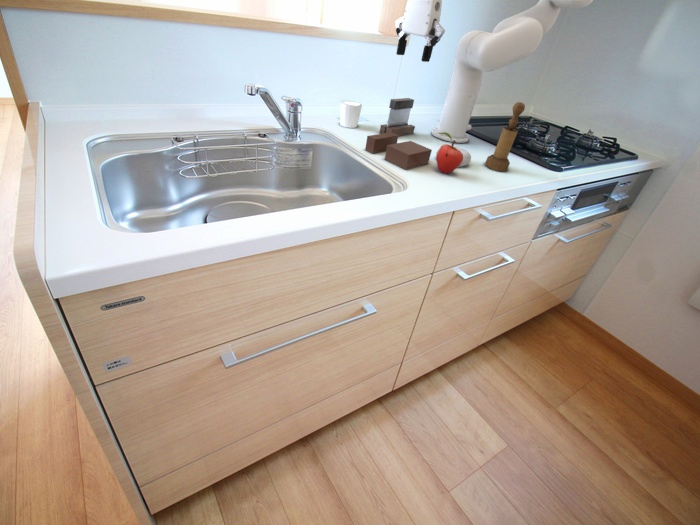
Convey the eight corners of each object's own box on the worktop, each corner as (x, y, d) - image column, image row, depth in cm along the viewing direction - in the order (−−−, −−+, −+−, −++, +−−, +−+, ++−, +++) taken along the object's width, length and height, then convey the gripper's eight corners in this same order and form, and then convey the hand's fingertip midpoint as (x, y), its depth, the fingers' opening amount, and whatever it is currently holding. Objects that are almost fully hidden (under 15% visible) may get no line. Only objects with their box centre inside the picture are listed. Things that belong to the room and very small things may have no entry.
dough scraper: (402, 130, 126) (409, 97, 120) (407, 132, 125) (415, 99, 118) (383, 133, 120) (389, 99, 114) (388, 135, 118) (395, 101, 112)
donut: (434, 164, 103) (470, 170, 102) (437, 152, 101) (474, 158, 100) (435, 153, 111) (468, 159, 110) (437, 141, 109) (471, 147, 108)
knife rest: (402, 129, 127) (404, 121, 126) (413, 133, 125) (415, 126, 123) (379, 132, 120) (380, 124, 118) (390, 137, 117) (392, 129, 116)
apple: (454, 168, 102) (466, 132, 96) (460, 178, 96) (472, 140, 90) (427, 164, 101) (437, 128, 95) (431, 174, 96) (442, 136, 90)
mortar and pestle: (511, 172, 106) (538, 106, 96) (493, 171, 104) (518, 105, 94) (498, 163, 111) (522, 100, 101) (480, 162, 109) (503, 98, 99)
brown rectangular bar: (388, 145, 110) (390, 132, 108) (395, 148, 109) (398, 135, 106) (365, 149, 104) (367, 135, 102) (372, 153, 102) (375, 139, 100)
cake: (407, 154, 106) (410, 140, 104) (428, 163, 102) (432, 149, 100) (384, 159, 100) (387, 145, 98) (405, 169, 96) (409, 154, 94)
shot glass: (340, 120, 125) (342, 99, 121) (359, 124, 125) (363, 102, 121) (336, 126, 119) (339, 103, 115) (357, 129, 119) (360, 107, 115)
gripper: (461, -8, 97) (443, 64, 107) (411, -14, 106) (398, 52, 116) (445, -12, 92) (427, 64, 102) (394, -18, 102) (383, 52, 112)
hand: (412, 58), depth 109 cm, fingers open, 9 cm apart
